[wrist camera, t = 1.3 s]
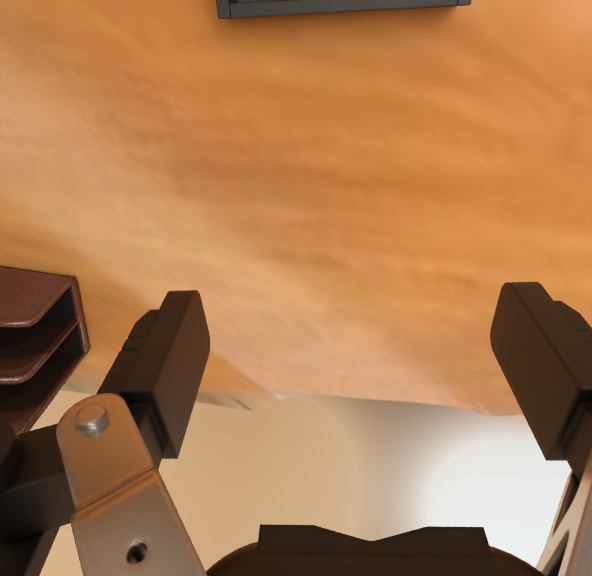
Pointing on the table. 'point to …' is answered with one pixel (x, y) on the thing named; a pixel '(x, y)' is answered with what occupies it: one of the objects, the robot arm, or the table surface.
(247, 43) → the table surface
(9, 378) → the letter holder
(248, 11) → the dark grey rectangular frame
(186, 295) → the robot arm
